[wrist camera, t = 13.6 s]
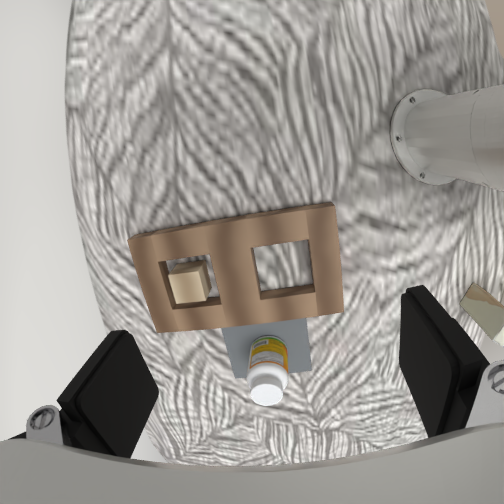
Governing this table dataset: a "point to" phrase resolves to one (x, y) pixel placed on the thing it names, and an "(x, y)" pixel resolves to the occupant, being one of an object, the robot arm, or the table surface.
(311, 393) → the table surface
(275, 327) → the rubber mat
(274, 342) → the supplement bottle
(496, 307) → the box
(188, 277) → the maple block
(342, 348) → the table surface
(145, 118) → the table surface
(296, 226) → the puzzle board
